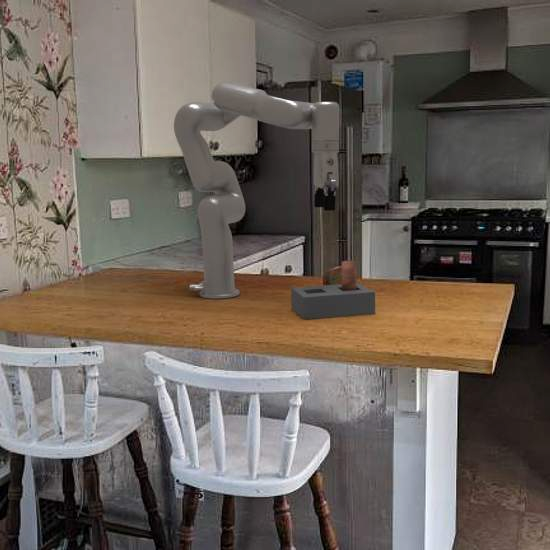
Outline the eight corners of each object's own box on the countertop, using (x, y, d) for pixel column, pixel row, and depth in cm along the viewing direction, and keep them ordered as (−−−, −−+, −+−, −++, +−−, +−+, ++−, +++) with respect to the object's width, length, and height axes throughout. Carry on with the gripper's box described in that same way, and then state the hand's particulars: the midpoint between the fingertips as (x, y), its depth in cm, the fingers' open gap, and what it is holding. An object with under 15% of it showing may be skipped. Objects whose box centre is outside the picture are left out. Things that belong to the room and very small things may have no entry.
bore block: (304, 319, 185) (303, 297, 184) (291, 308, 198) (291, 287, 197) (375, 313, 189) (375, 292, 188) (358, 303, 202) (357, 282, 201)
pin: (344, 306, 192) (344, 263, 190) (340, 303, 196) (340, 261, 193) (358, 305, 193) (358, 262, 190) (353, 302, 197) (353, 260, 194)
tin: (329, 298, 211) (329, 270, 209) (321, 297, 212) (320, 270, 211) (354, 289, 222) (354, 263, 221) (345, 288, 224) (345, 263, 223)
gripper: (347, 147, 186) (346, 211, 189) (329, 147, 202) (328, 205, 205) (320, 147, 184) (319, 212, 187) (304, 147, 201) (304, 206, 204)
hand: (324, 208), depth 196 cm, fingers open, 9 cm apart
